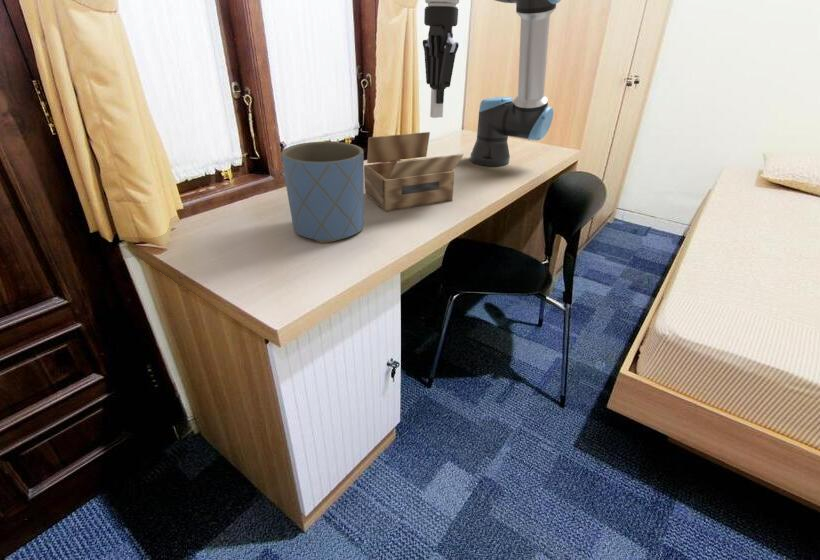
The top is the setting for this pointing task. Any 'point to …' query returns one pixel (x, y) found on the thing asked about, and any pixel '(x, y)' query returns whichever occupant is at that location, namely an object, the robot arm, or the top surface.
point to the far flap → (397, 147)
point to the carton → (406, 187)
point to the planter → (325, 189)
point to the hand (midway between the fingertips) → (436, 116)
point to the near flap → (425, 166)
